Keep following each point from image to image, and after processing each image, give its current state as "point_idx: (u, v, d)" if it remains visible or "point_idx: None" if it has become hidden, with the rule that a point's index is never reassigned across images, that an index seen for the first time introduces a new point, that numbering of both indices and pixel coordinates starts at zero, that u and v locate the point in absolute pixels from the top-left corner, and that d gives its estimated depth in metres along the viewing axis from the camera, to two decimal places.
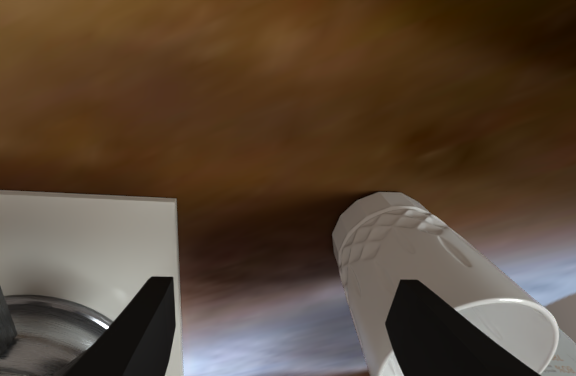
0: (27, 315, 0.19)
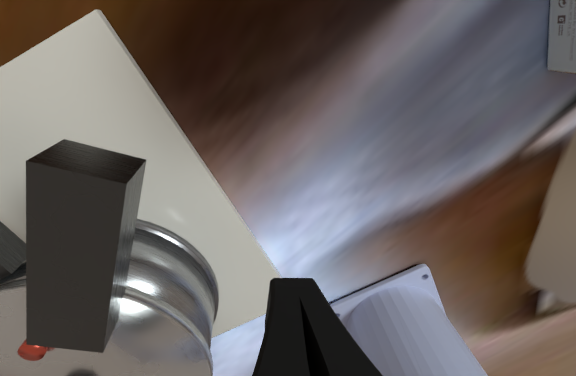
0: None
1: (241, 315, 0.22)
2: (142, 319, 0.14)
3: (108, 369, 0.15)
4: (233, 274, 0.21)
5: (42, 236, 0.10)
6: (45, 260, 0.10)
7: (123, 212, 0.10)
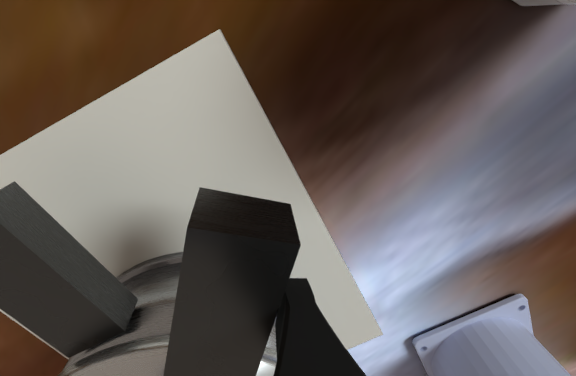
0: (144, 281, 0.15)
1: None
2: None
3: None
4: (323, 309, 0.19)
5: (192, 311, 0.08)
6: (191, 337, 0.08)
7: (288, 276, 0.08)
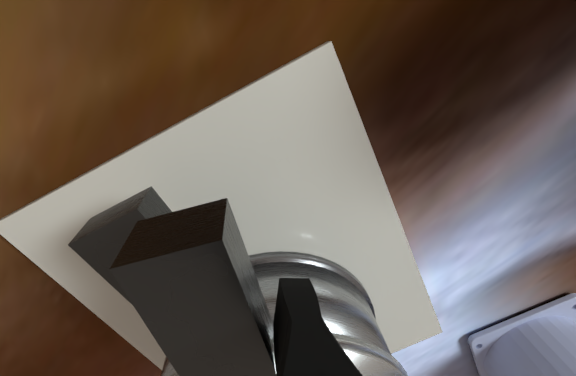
0: None
1: None
2: None
3: None
4: (390, 308, 0.20)
5: (171, 335, 0.08)
6: (188, 356, 0.09)
7: (236, 272, 0.08)
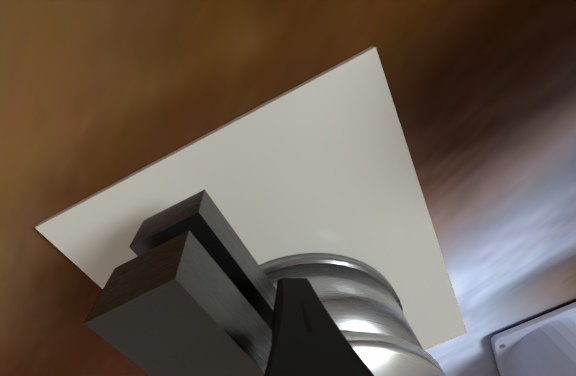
0: (274, 282, 0.16)
1: None
2: None
3: None
4: (417, 308, 0.20)
5: (163, 369, 0.09)
6: None
7: (201, 303, 0.08)
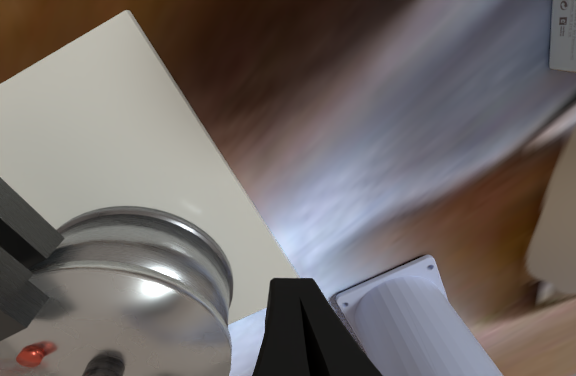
0: (76, 228, 0.17)
1: (254, 304, 0.23)
2: (64, 285, 0.13)
3: (103, 341, 0.15)
4: (247, 264, 0.22)
5: None
6: None
7: None
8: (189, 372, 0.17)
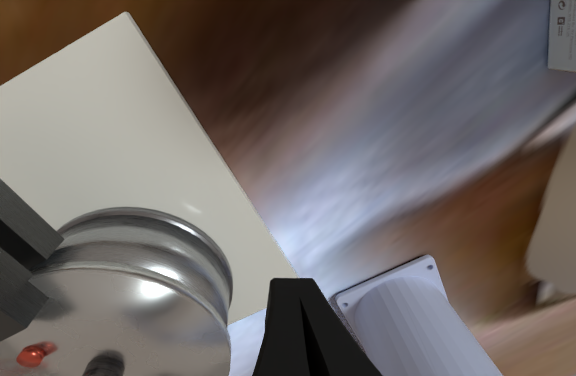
0: (76, 229, 0.17)
1: (254, 304, 0.23)
2: (63, 285, 0.14)
3: (102, 341, 0.15)
4: (247, 264, 0.22)
5: None
6: None
7: None
8: (189, 372, 0.17)
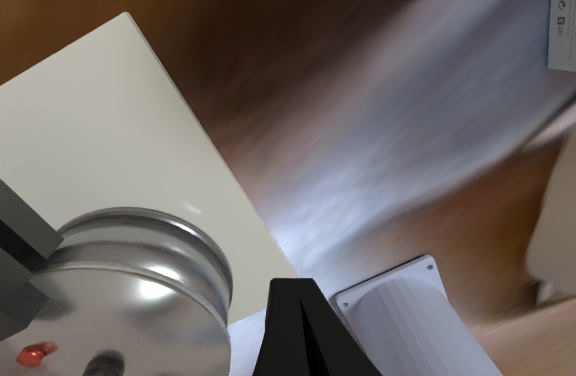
0: (76, 229, 0.17)
1: (254, 304, 0.23)
2: (63, 285, 0.14)
3: (102, 341, 0.15)
4: (247, 264, 0.22)
5: None
6: None
7: None
8: (189, 372, 0.17)
